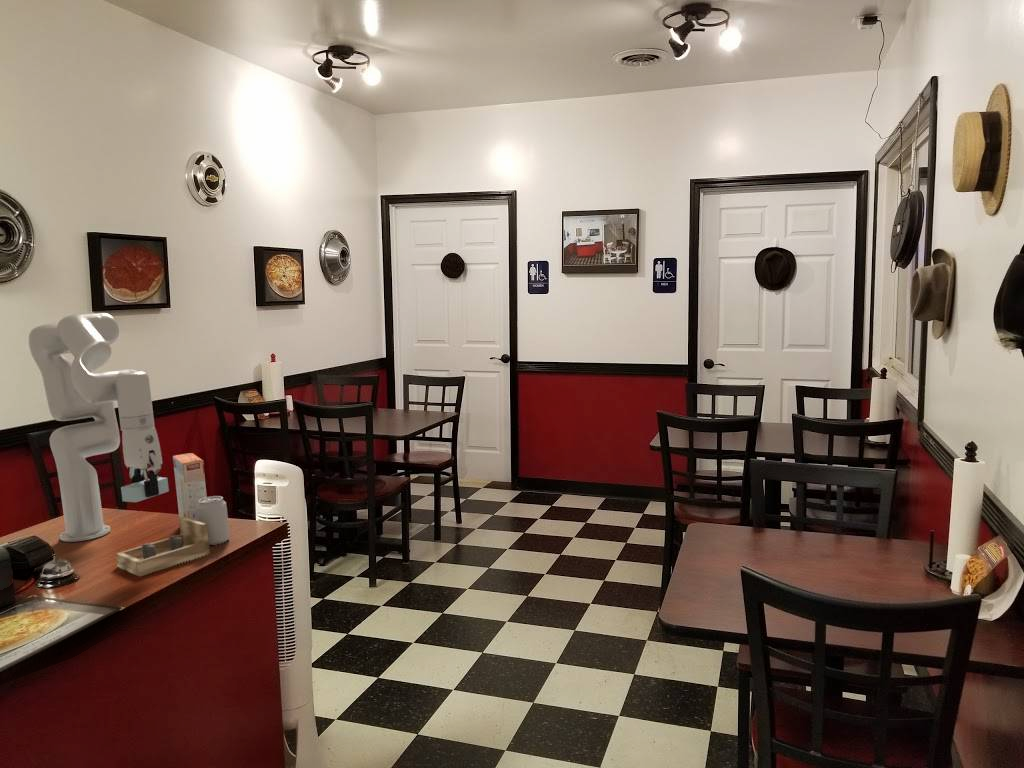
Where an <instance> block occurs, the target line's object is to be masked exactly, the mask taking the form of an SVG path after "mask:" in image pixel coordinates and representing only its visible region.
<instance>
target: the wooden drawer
mask: <svg viewBox="0 0 1024 768" xmlns="http://www.w3.org/2000/svg"><path fill="white" fill-rule="evenodd" d="M178 522H179V532H180V533H179V534H177V535H170V536H169V537H167V538H163V539H160V540H157V541H154V542H150V543H148V542H147V543H146V542H145V543H142V544H141V545H140V546H136V547H134V548H130V549H129V548H128V549H126V550H122V551H120V552H119V551H118V552H116V553H115V560H116V568H118V567H119V568H118V569H121V570H124V571H125V570H126V571H125V572H128V573H130V574H132V575H135V576H137V577H140V578H141V577H143V576H146V575H149V573H150V574H152V572H153V573H155V571H156V572H159V571H161V570H164V569H168V568H171V567H175V566H178V565H181V564H184V563H186V561H187V562H190V561H193V560H196V559H199V558H203V557H206V556H209V555H211V550H210V546H209V540H208V531H207V524H206V523H202V522H199V521H196V520H192V519H189V518H186V517H180V518H179V517H178ZM208 554H209V555H208ZM205 555H206V556H205ZM202 556H203V557H202ZM198 557H199V558H198ZM195 558H196V559H195ZM189 560H190V561H189ZM183 562H184V563H183ZM180 563H181V564H180ZM177 564H178V565H177ZM174 565H175V566H174Z"/></svg>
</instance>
